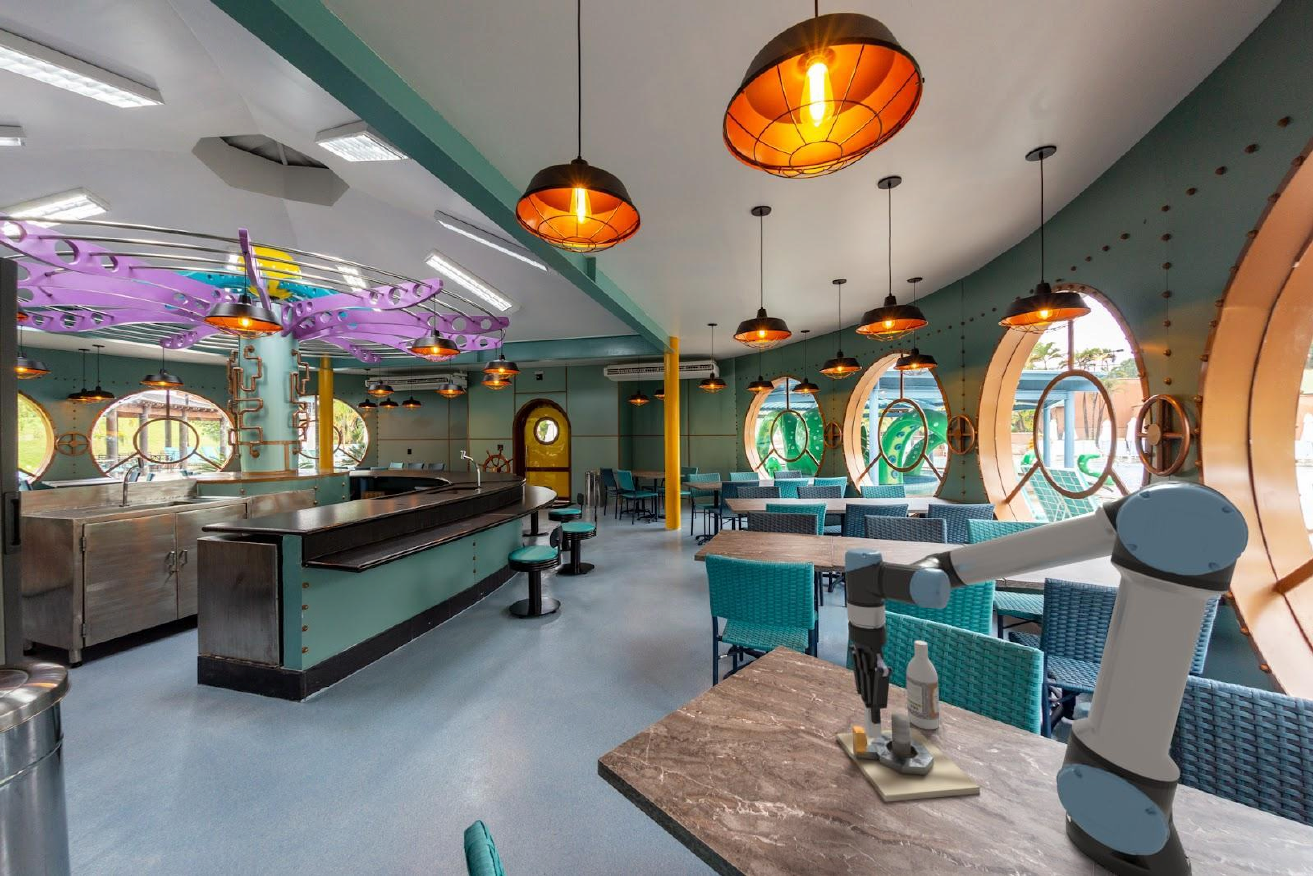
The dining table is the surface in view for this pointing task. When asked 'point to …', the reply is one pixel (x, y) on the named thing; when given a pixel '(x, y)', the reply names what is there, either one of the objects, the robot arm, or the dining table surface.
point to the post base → (909, 786)
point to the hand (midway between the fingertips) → (873, 735)
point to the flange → (881, 753)
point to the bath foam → (922, 689)
